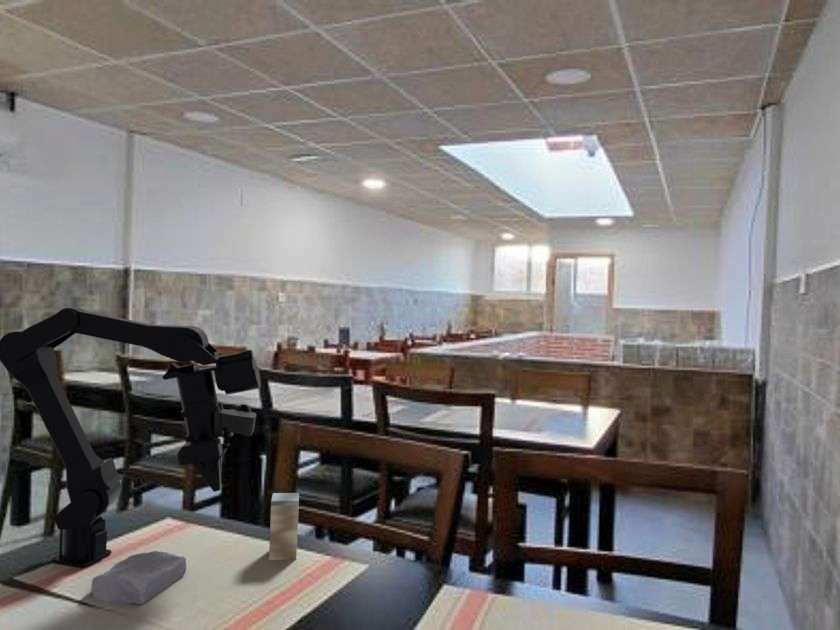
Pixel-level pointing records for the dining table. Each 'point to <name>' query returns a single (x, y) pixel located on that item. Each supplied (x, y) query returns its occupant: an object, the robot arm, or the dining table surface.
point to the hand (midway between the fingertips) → (217, 490)
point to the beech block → (284, 526)
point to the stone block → (139, 578)
